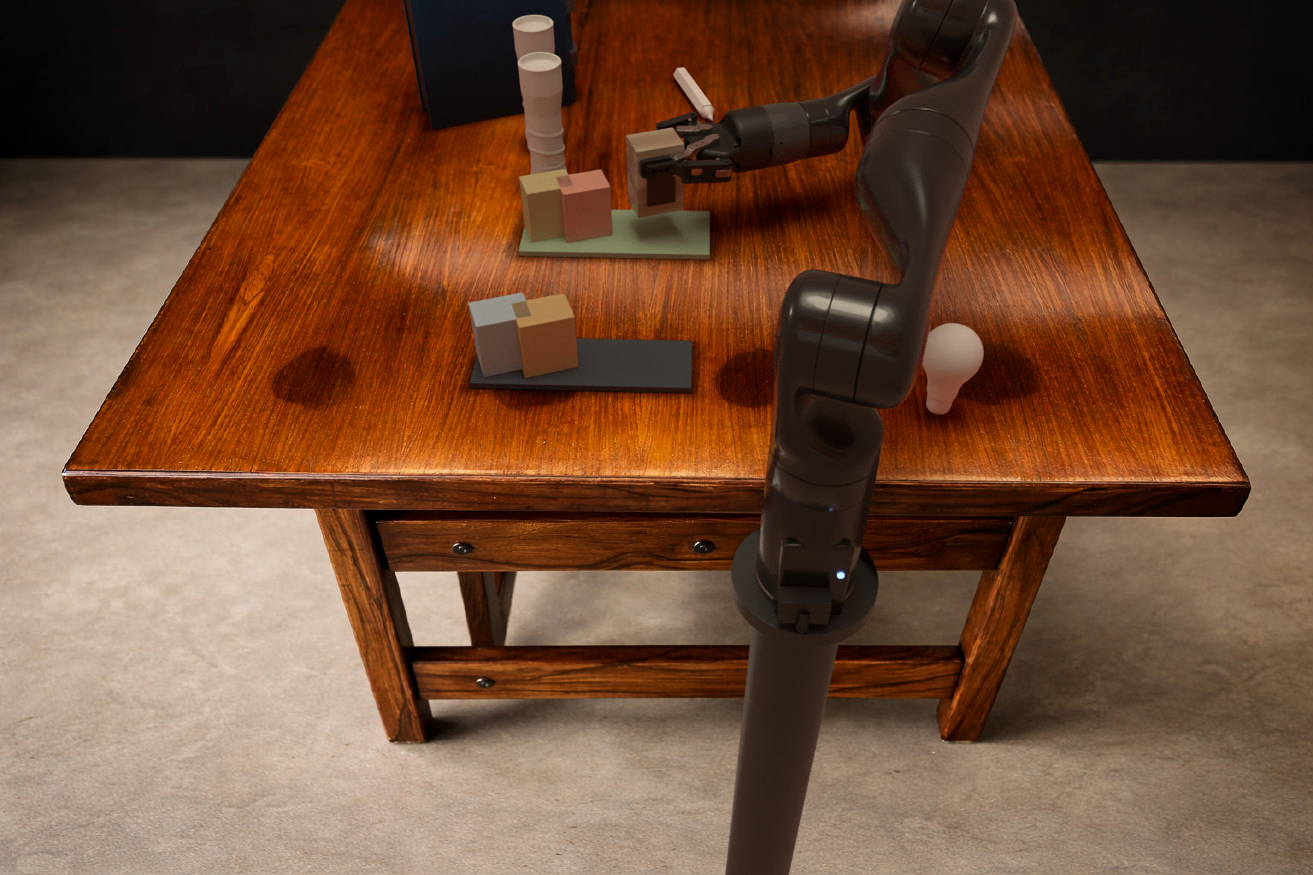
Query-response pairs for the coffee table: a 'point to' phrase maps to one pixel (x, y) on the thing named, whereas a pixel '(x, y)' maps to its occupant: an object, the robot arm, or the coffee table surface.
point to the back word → (602, 222)
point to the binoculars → (540, 91)
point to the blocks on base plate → (567, 352)
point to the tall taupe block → (656, 191)
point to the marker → (694, 93)
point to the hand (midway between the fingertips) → (634, 159)
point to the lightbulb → (950, 363)
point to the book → (479, 56)
